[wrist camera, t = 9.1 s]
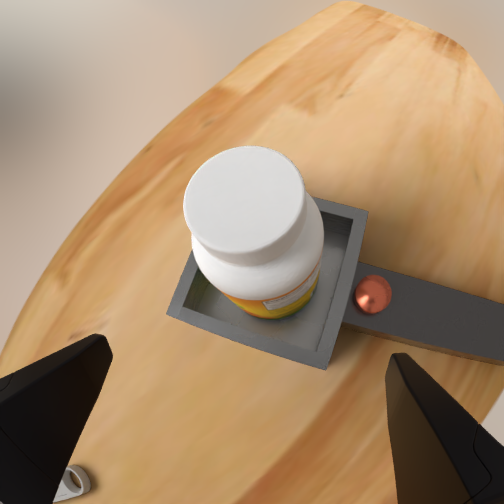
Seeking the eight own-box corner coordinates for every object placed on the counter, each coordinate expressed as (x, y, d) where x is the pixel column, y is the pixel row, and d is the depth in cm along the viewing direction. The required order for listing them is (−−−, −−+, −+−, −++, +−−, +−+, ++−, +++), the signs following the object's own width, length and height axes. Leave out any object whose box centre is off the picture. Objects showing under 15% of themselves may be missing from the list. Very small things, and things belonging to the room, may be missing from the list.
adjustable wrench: (83, 458, 17) (69, 462, 15) (123, 524, 14) (112, 532, 12) (-21, 483, 15) (-30, 484, 13) (1, 526, 13) (-7, 528, 11)
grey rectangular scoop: (513, 281, 16) (536, 268, 13) (493, 404, 13) (518, 407, 10) (234, 201, 21) (224, 177, 19) (185, 322, 19) (166, 314, 16)
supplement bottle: (215, 263, 19) (143, 179, 10) (288, 221, 19) (271, 109, 10) (256, 338, 17) (201, 310, 8) (335, 291, 17) (363, 215, 8)
